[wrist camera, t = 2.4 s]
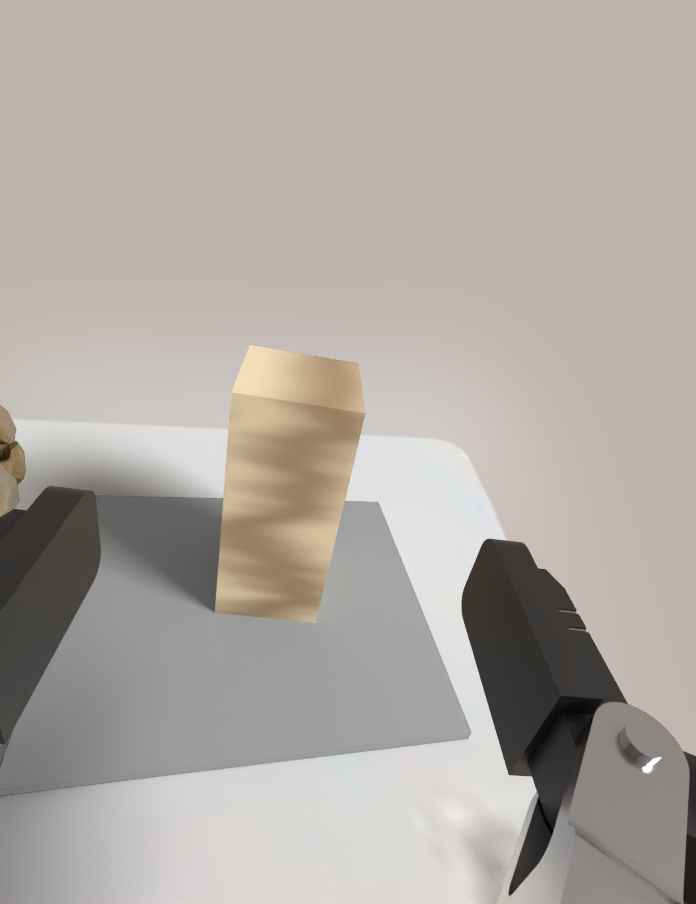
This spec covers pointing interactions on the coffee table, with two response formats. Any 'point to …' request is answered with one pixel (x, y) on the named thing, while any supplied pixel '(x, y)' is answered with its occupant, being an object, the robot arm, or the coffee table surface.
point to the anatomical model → (9, 464)
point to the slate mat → (227, 660)
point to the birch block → (285, 481)
